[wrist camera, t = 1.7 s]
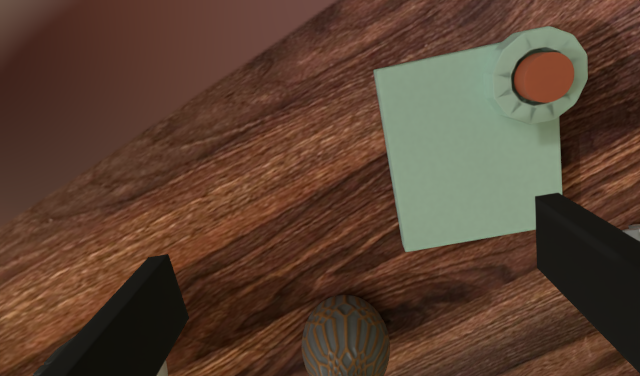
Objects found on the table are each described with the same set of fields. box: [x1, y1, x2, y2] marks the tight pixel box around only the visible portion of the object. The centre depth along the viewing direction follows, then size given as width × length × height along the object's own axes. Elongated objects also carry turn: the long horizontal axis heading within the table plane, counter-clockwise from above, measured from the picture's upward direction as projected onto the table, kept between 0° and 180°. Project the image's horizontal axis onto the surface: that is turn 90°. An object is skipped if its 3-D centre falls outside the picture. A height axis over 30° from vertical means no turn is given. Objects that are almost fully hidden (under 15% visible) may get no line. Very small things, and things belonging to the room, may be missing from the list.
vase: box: [302, 295, 390, 376], centre depth 32 cm, size 7×7×9 cm
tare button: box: [514, 52, 574, 103], centre depth 26 cm, size 3×3×2 cm
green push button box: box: [373, 26, 588, 252], centre depth 29 cm, size 14×13×4 cm
